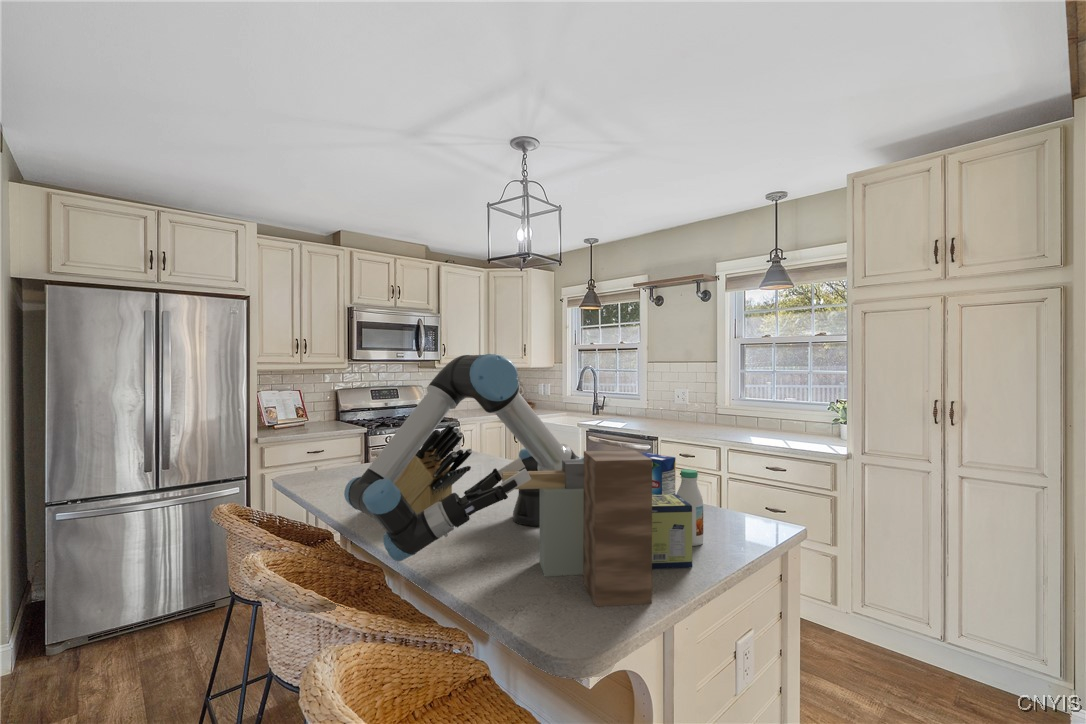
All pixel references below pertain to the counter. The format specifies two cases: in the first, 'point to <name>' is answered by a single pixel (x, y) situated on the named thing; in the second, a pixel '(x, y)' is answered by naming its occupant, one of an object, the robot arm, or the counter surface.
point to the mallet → (555, 476)
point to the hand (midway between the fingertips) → (525, 467)
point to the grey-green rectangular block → (561, 531)
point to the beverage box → (662, 474)
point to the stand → (617, 527)
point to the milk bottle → (693, 503)
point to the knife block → (433, 469)
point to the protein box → (671, 532)
